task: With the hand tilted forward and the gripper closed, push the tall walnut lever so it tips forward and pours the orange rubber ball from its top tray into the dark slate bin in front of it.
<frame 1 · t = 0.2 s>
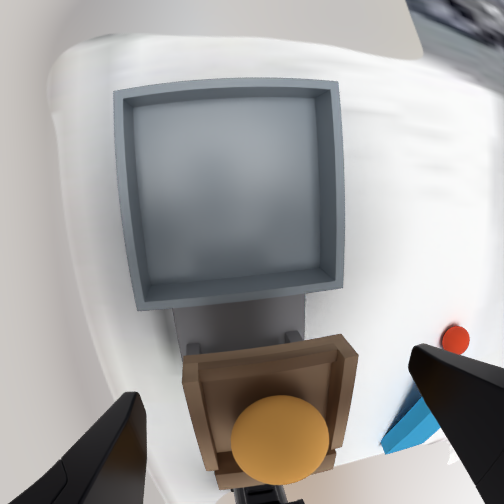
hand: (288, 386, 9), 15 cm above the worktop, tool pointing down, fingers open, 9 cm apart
bin: (230, 188, 22), on the worktop
lever 2: (423, 387, 32), on the worktop
lever: (256, 370, 17), point 8 cm above the worktop, hinge at 0.0°, touching ball
ball: (279, 440, 11), point 14 cm above the worktop, touching lever
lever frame: (242, 344, 25), on the worktop
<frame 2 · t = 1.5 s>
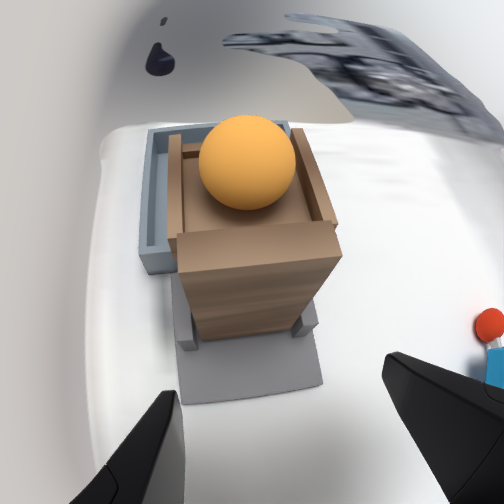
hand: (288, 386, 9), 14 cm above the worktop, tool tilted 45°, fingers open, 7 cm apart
bin: (224, 198, 29), on the worktop
lever 2: (485, 403, 21), on the worktop
lever: (242, 246, 18), point 8 cm above the worktop, hinge at 0.0°, touching ball
ball: (247, 162, 13), point 14 cm above the worktop, touching lever
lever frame: (242, 332, 23), on the worktop
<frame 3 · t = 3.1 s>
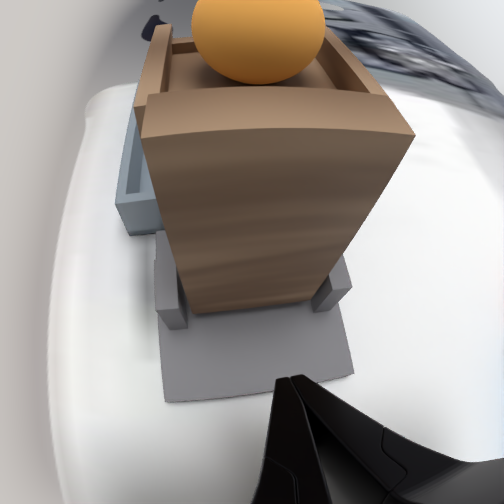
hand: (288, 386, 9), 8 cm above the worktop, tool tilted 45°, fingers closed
bin: (224, 151, 23), on the worktop
lever: (249, 173, 12), point 8 cm above the worktop, hinge at 0.0°, touching ball
ball: (258, 25, 7), point 14 cm above the worktop, tilted 10°, touching lever
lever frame: (247, 306, 18), on the worktop
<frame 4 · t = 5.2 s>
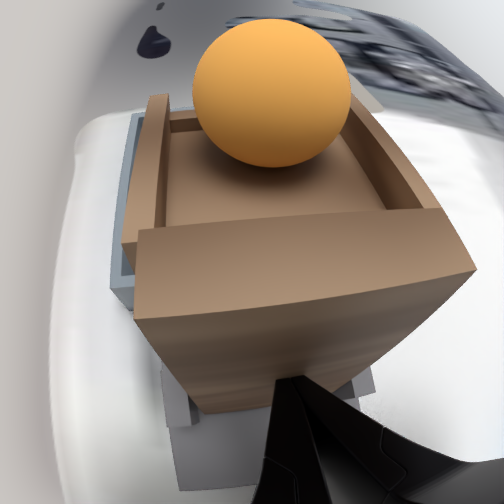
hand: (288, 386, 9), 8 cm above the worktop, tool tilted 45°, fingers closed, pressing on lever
bin: (231, 203, 21), on the worktop
lever: (265, 276, 11), point 7 cm above the worktop, hinge at 8.0°, touching ball, gripper
ball: (271, 92, 7), point 13 cm above the worktop, tilted 37°, touching lever
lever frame: (261, 392, 16), on the worktop
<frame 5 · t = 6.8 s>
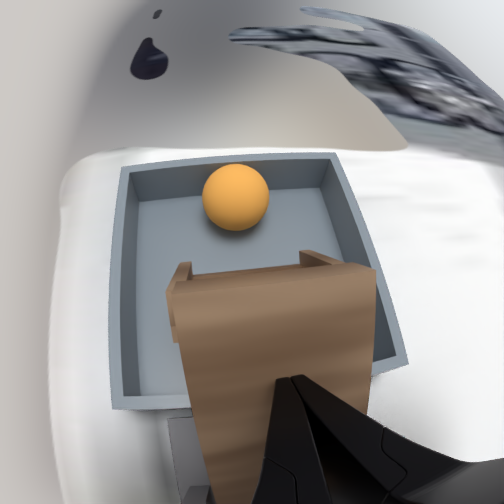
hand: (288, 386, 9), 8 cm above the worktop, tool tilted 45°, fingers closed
bin: (243, 281, 19), on the worktop
lever: (267, 382, 13), point 3 cm above the worktop, hinge at 53.9°
ball: (235, 197, 18), point 2 cm above the worktop, tilted 99°, touching bin
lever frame: (278, 491, 13), on the worktop
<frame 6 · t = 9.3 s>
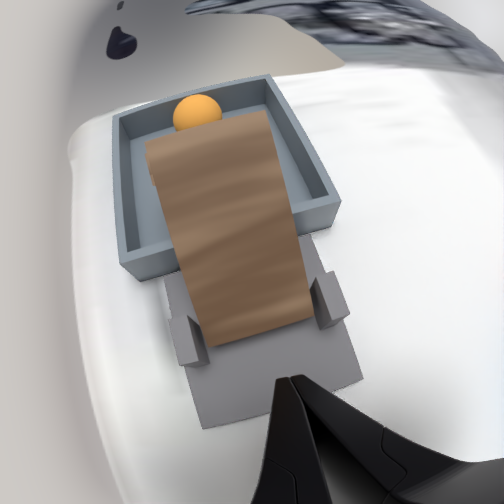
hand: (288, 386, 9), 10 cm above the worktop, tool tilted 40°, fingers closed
bin: (212, 175, 24), on the worktop
lever: (229, 224, 19), point 3 cm above the worktop, hinge at 53.9°
ball: (197, 118, 23), point 2 cm above the worktop, tilted 102°, touching bin
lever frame: (260, 331, 19), on the worktop
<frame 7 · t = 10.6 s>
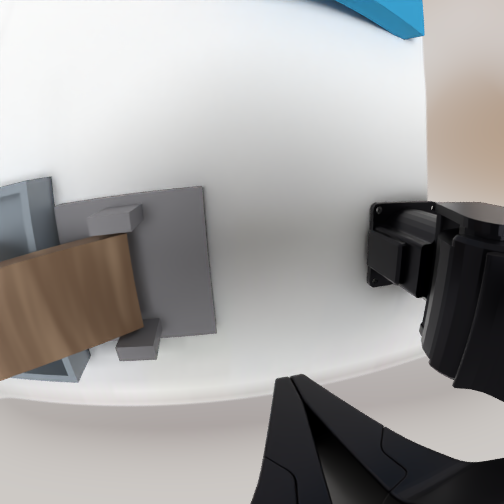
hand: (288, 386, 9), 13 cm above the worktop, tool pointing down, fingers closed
lever: (41, 291, 16), point 3 cm above the worktop, hinge at 53.9°
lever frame: (136, 268, 20), on the worktop
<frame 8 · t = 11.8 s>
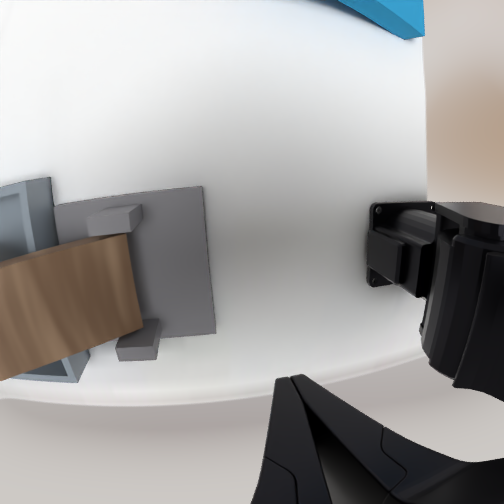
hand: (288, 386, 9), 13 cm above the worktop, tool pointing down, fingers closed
lever: (40, 291, 16), point 3 cm above the worktop, hinge at 53.9°
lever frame: (135, 268, 20), on the worktop
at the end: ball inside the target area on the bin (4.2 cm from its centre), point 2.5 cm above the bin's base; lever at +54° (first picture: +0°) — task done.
